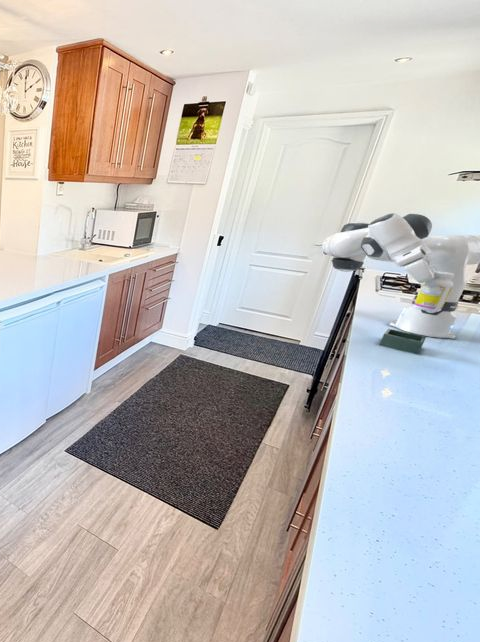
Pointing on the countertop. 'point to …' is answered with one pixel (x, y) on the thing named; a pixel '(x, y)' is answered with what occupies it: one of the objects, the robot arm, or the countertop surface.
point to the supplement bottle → (434, 293)
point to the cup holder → (402, 341)
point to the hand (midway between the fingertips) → (438, 289)
